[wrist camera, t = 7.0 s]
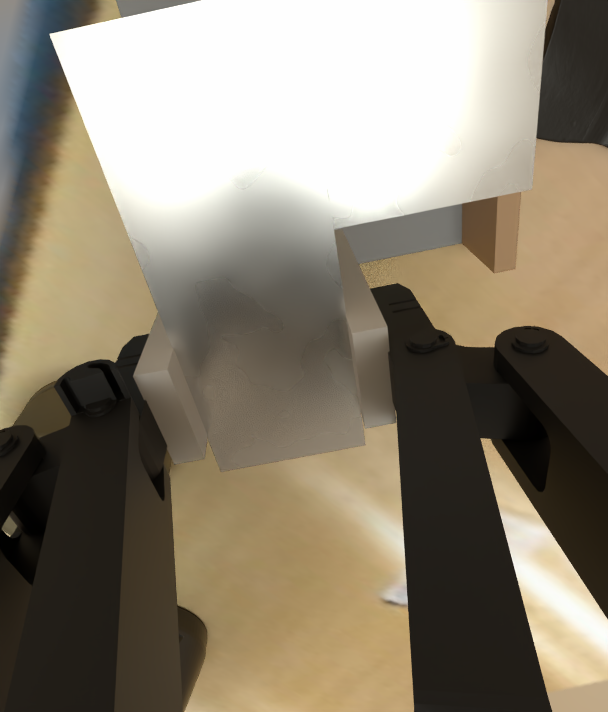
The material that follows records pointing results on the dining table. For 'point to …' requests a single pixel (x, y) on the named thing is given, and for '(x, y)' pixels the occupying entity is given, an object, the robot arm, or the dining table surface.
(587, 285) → the dining table surface
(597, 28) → the dark sector wedge
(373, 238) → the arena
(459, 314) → the dining table surface
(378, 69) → the bracket
